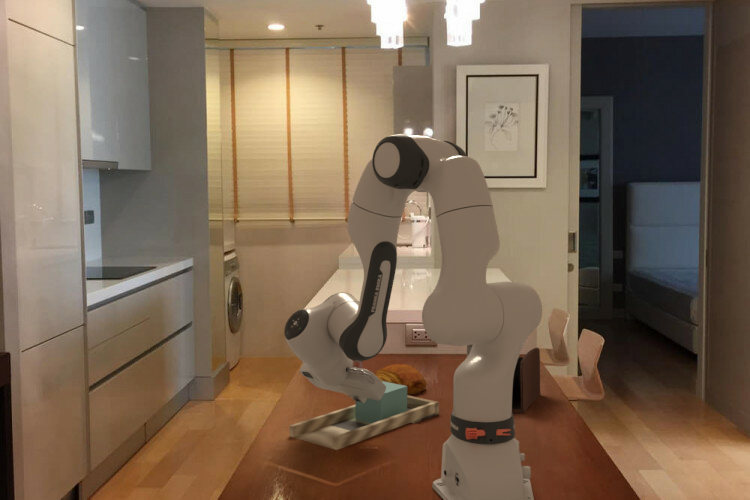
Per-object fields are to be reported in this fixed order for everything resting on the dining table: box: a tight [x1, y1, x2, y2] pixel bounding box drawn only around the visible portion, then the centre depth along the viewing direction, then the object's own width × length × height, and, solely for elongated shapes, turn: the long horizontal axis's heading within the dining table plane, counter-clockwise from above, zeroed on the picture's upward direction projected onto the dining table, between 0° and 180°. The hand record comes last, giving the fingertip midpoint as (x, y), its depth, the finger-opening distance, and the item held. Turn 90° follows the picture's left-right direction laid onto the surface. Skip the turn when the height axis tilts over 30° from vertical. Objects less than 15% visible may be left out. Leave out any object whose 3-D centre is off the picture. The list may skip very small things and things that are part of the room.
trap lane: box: [288, 395, 440, 451], centre depth 195 cm, size 38×14×3 cm, turn 140°
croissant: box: [373, 363, 427, 396], centre depth 228 cm, size 14×16×8 cm
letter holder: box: [512, 347, 541, 414], centre depth 216 cm, size 10×20×14 cm, turn 156°
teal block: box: [355, 381, 407, 423], centre depth 200 cm, size 10×8×8 cm
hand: (361, 399), depth 193 cm, fingers closed
